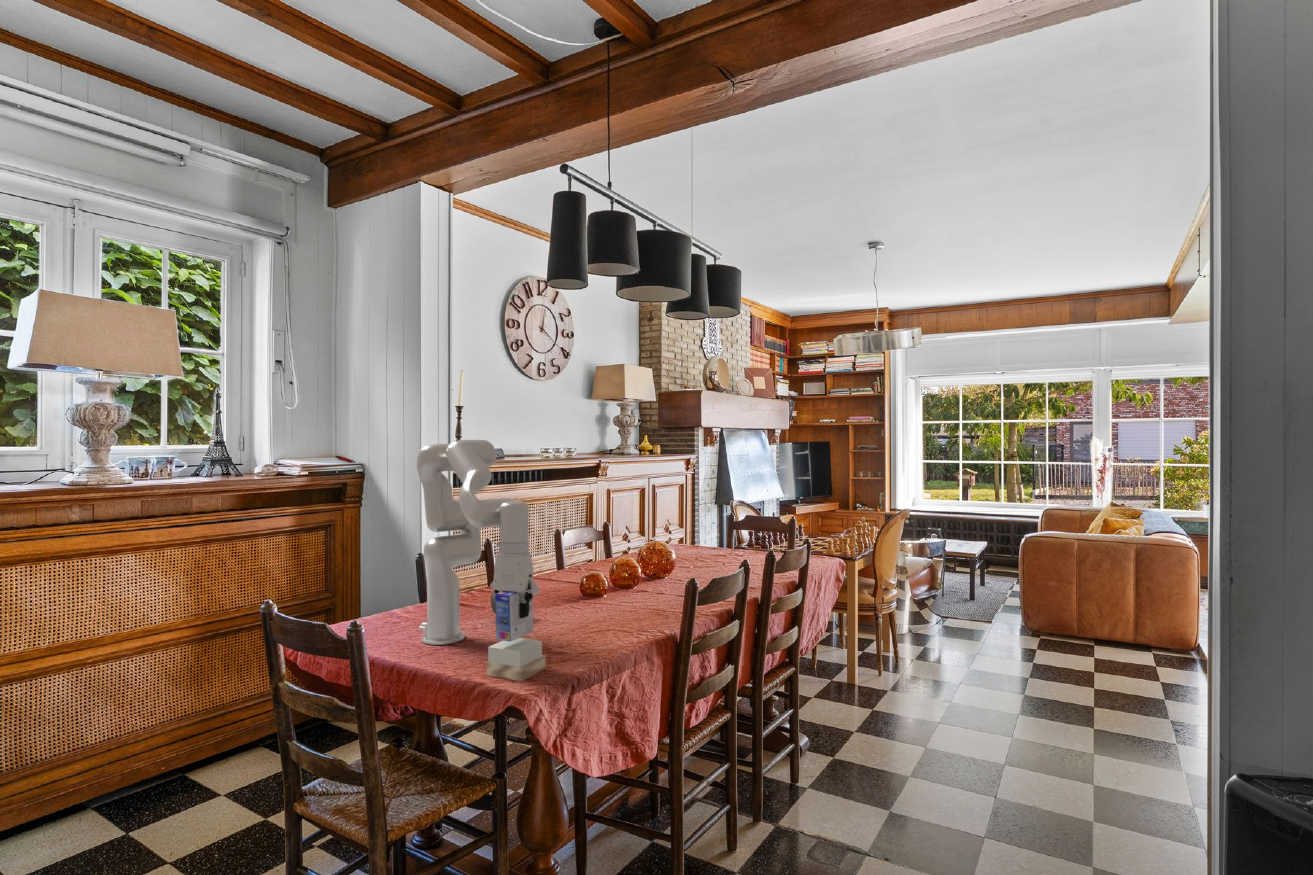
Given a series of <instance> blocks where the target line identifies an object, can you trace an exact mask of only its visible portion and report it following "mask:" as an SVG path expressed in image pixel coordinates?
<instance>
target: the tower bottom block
mask: <svg viewBox="0 0 1313 875" xmlns="http://www.w3.org/2000/svg"><path fill="white" fill-rule="evenodd" d="M545 669H546V655H545V654H544V655H543V654H542V656H541V657H539V658H537V659H535V660H533V661H531V662H529V663H527V664H526V665H524V666H522V667H515V666H509V665H503V664H497V663H491V662H488V661H487V662H486V676H489V677H493V678H494V677H495V678H501V679H504V680H505V679H506V680H512V681H517V682H518V681H519V682H524V681H525V680H527V679H529V678H531V677H532V676H534V675H535V674H538V673H539V672H542V671H543V670H545Z"/></svg>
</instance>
